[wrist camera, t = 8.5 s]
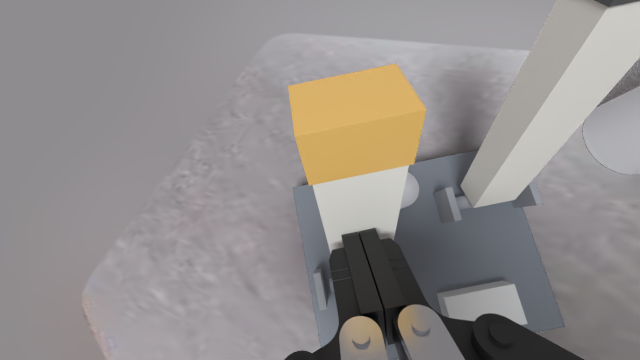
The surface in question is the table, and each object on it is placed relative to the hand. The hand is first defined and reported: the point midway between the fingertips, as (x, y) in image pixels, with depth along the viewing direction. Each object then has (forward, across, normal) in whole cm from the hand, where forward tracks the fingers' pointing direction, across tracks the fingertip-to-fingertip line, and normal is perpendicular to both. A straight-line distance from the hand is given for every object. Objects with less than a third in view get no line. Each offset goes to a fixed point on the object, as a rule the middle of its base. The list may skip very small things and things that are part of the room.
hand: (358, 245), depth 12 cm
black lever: (+7, -11, +5) cm, 14 cm away
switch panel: (+8, -5, +10) cm, 14 cm away
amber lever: (+4, 0, +8) cm, 9 cm away
